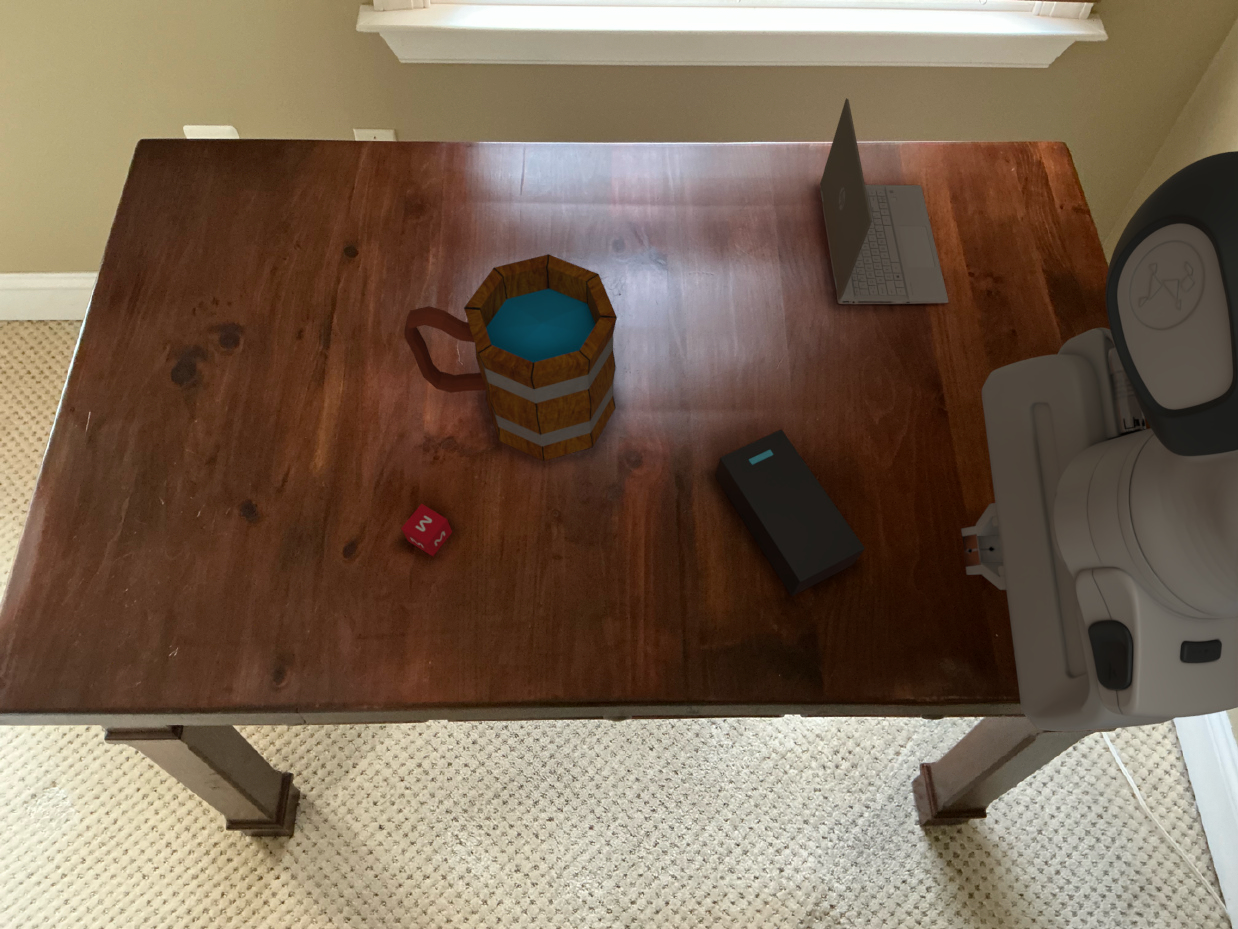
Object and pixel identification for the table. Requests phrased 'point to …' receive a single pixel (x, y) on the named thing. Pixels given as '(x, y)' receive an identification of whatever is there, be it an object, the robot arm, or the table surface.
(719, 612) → the table surface
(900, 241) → the laptop
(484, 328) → the mug
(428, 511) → the dice
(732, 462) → the black power bank
